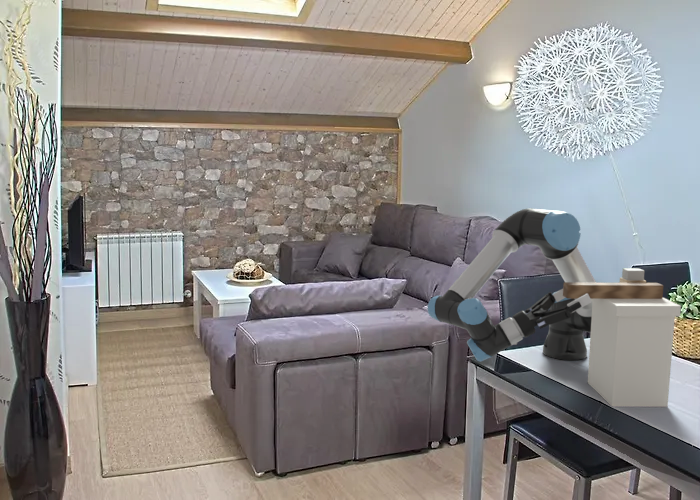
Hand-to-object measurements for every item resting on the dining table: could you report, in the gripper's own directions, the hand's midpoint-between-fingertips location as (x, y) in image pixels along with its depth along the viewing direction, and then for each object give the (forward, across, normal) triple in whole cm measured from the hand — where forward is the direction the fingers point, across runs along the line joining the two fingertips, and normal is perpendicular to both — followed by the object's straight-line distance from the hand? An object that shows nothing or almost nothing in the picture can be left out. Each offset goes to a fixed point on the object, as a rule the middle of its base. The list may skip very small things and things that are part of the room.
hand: (581, 292), depth 200 cm
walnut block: (+7, 0, -6) cm, 9 cm away
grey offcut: (+17, -8, -7) cm, 20 cm away
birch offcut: (+15, -8, -10) cm, 20 cm away
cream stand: (-3, 0, -35) cm, 35 cm away
